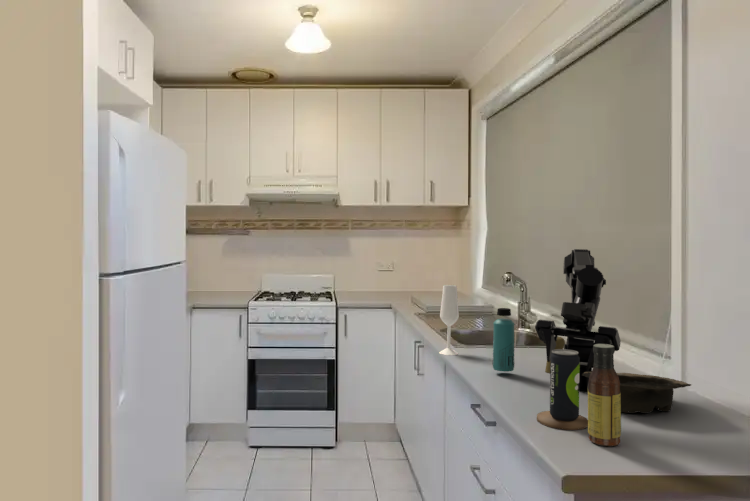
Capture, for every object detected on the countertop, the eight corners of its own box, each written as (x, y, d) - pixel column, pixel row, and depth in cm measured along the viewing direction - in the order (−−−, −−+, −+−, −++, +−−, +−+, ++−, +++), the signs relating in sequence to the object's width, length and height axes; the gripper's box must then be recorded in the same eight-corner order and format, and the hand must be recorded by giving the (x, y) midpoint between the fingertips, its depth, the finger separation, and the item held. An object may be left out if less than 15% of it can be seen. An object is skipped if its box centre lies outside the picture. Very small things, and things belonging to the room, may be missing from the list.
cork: (563, 370, 179) (563, 335, 179) (567, 374, 173) (568, 338, 173) (543, 369, 180) (544, 334, 179) (547, 374, 174) (548, 338, 173)
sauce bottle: (612, 436, 119) (614, 342, 119) (626, 448, 113) (629, 348, 112) (581, 436, 119) (583, 342, 118) (593, 447, 113) (596, 348, 112)
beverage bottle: (508, 377, 168) (509, 310, 167) (488, 374, 172) (489, 308, 171) (518, 373, 173) (519, 308, 172) (497, 370, 177) (499, 306, 177)
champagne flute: (455, 355, 198) (457, 286, 197) (436, 353, 200) (438, 285, 200) (460, 352, 204) (461, 285, 203) (441, 350, 207) (443, 284, 206)
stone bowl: (628, 424, 127) (626, 382, 128) (562, 400, 151) (561, 365, 152) (716, 415, 134) (715, 375, 134) (640, 394, 158) (639, 360, 158)
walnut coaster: (583, 416, 133) (583, 412, 133) (592, 431, 122) (592, 428, 122) (534, 412, 135) (534, 409, 135) (539, 427, 124) (539, 424, 124)
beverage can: (544, 415, 130) (544, 349, 130) (566, 412, 133) (567, 348, 132) (561, 423, 125) (562, 354, 124) (584, 420, 127) (585, 353, 126)
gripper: (538, 286, 140) (519, 337, 131) (618, 292, 129) (603, 348, 120) (549, 315, 146) (531, 365, 138) (626, 323, 135) (612, 378, 127)
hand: (567, 363), depth 131 cm, fingers open, 9 cm apart
